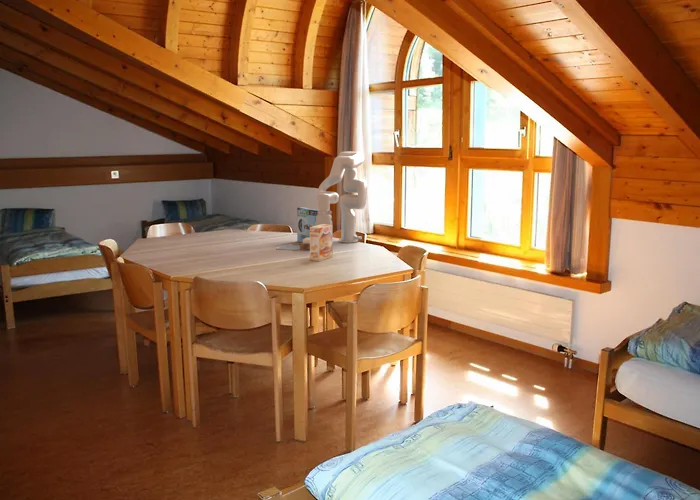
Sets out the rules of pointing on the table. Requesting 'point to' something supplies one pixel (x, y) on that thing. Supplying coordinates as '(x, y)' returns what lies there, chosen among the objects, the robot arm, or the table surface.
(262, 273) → the table surface
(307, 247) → the board
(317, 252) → the coffeecake box
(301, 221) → the gum box
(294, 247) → the slate mat
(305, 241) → the cream coaster
